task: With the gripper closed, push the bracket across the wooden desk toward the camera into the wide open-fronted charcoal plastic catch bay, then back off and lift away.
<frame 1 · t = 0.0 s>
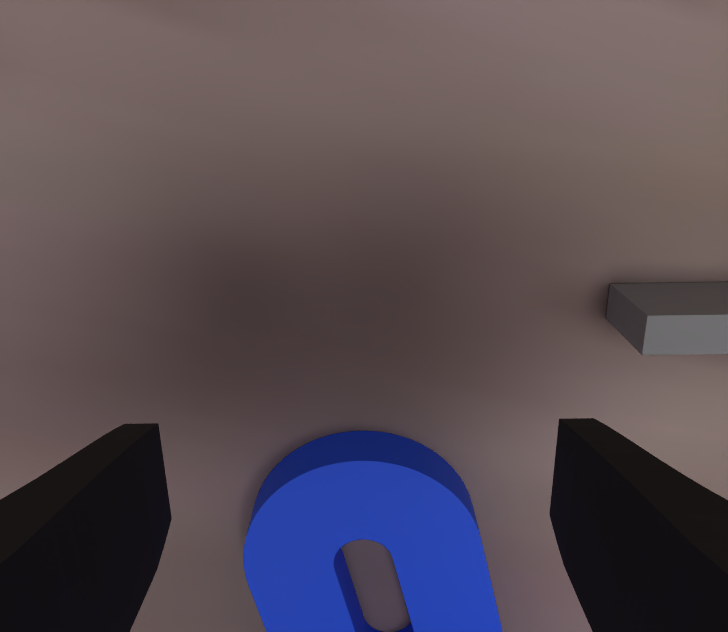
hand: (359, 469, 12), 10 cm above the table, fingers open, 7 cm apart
bracket: (392, 617, 26), on the table
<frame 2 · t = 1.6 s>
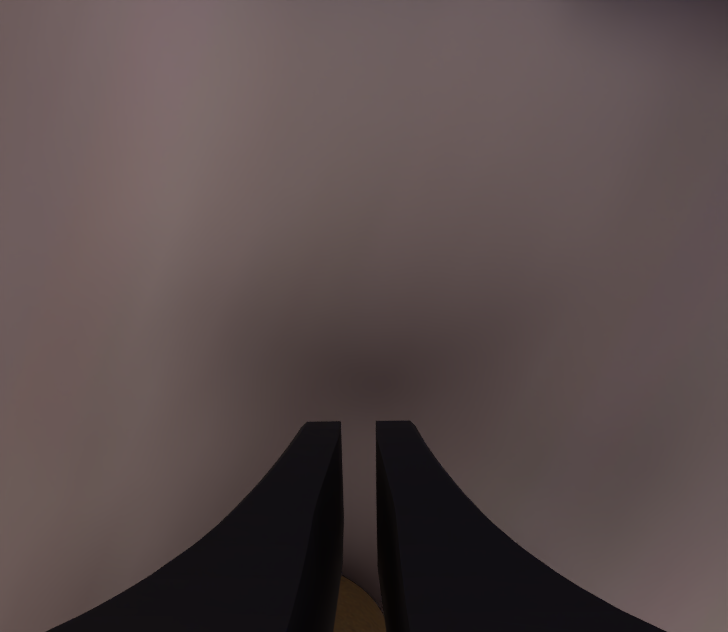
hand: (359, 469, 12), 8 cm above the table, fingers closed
plant pot: (289, 631, 24), on the table
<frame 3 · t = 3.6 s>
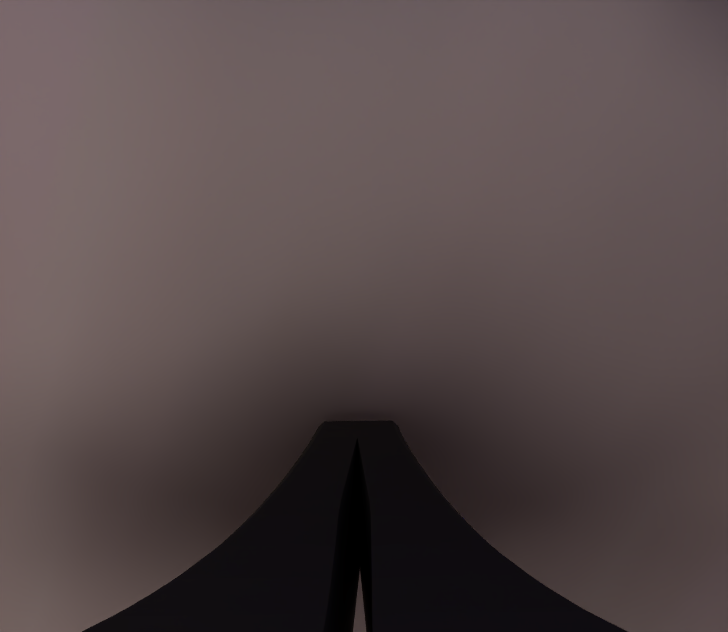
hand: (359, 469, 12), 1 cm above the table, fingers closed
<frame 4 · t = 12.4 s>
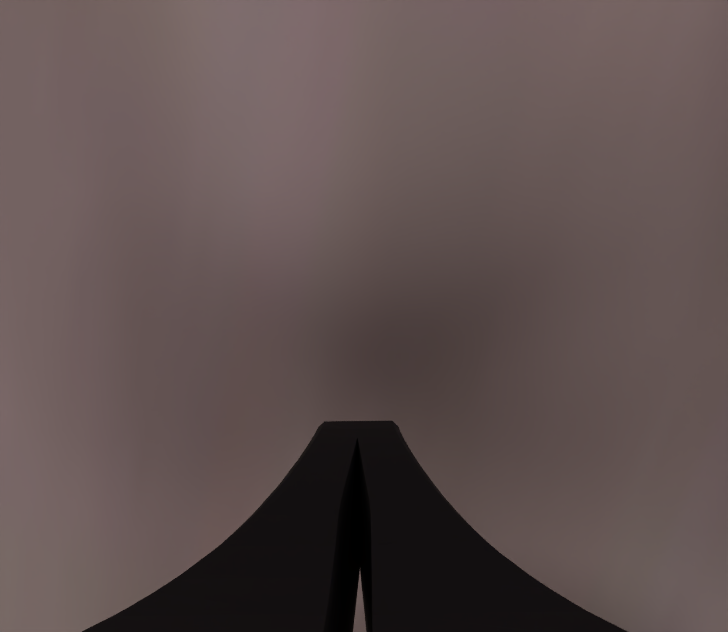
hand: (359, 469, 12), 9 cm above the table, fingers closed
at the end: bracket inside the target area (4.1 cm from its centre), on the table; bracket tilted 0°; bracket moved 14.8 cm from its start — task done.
